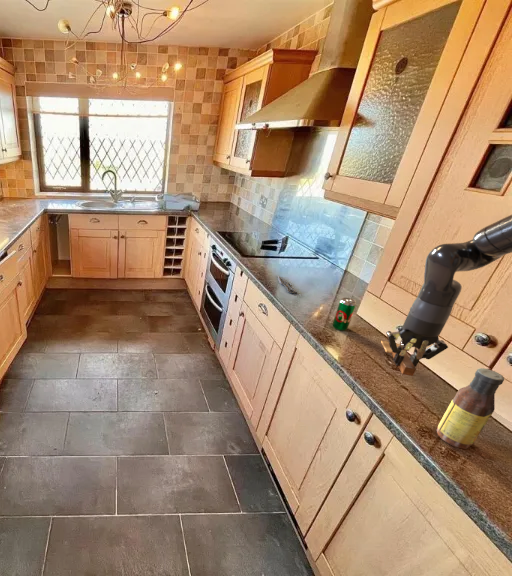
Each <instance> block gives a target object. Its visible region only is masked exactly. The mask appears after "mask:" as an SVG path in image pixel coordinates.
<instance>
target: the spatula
mask: <svg viewBox="0 0 512 576" xmlns="http://www.w3.org/2000/svg"><path fill="white" fill-rule="evenodd" d="M380 343H381V345H382V348H384V351H385V353H388V354H391V355H392V357H393V358H394V356H395V354H396V353H394V352H393V351H392V349H391V348H390V345H389V341H387V340H381V341H380ZM399 345H400V343H398V342H396V346H397V347H399ZM397 367H398V369H399V370H400V372H401V374H402V375H406V376H409V377H413V376H414V374H415V373H416V371H417V368H416V367H415V366H414V365H413V363H412V362H411V360H410V356H409V354H408V352H406V354H405V355H404V359H403V361H402V362H401V364H400V366H397Z"/></svg>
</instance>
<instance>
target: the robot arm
mask: <svg viewBox="0 0 512 576" xmlns="http://www.w3.org/2000/svg"><path fill="white" fill-rule="evenodd" d="M511 253H512V214H510V215H508V216H505V217H503V218H501V219H499V220H497V221H495V222H493V223H491V224H489V225H486V226H484V227H483V228H481V229H480V230H478V231H477V232H475V234H474V235H473V238H472V239H471V240H467V241H465V242H453V243H451V242H450V243H441V244H439V245H437V246H435V247H434V248H432V249H431V250H430V251H429V253H428V254H427V257H426V259H425V265H424V274H423V284H422V286H421V288H420V290H419V292H418V294H417V295H416V296H417V297H416V298H415V300H414V301H413V302H412V305H411V306H410V308H409V311H408V313H407V315H406V317H405V320H404V322H403V325H402V327H401V328H400V329H398V331H393V332H392V331H390V330H388V331H386V332H385V333H386V337H387V340H388V341H387V342H389V345H390V348H391V349H392V351H393V352H394V353H396V354H395V356H394V357H393V359H392V360H393V363H394V365H395V366H396V367H398V366H400V364H401V362H402V361H403V359H404V355H405V354H406V353H408V352H409V351H410V350H411V349H412V348H414V349H413V351H412V352H413V354H410V356H409V358H410V360H411V362H412V363H413V365H414V366H415V368H416V367H417V366H418V364H419V362H420V360H422V359H426V360H431V359H433V358H434V357H436V356H437V355H439V354H441V353H442V352H444V351H446V350H447V349H448V348H449V345H448V344H447V343H446V342H445V341H444V340H443V339H440V338H439V336H440V335H441V333H442V331H443V329H444V327H445V325H446V324H447V322H448V320H449V318H450V316H451V314H452V311H453V307H454V305H455V304H456V302H457V299H458V298H459V296H460V294H461V292H462V289H463V288H462V284H461V282H459V281H457V280H455V279H454V277H455V274H456V273H458V272H460V273H461V272H470V271H475V270H479V269H481V268H483V267H486V266H488V265H490V264H492V263H494V262H495V261H497V260H499V259H501V258H502V257H503V256H505V255H509V254H511ZM399 337H400V339H401V340H400V342H399V344H400V345H399V347H397V346H396V343H397V342H396V341H397V340H398V339H399Z"/></svg>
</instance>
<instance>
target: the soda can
mask: <svg viewBox="0 0 512 576" xmlns="http://www.w3.org/2000/svg"><path fill="white" fill-rule="evenodd" d="M356 302H357V301H356V300H355V299H354V298H351V297H342V298H341V299H339V302H338V305H337V308H336V312H335V315H334V318H333V320H332V327H333V328H334V329H335V330H337V331H340V332H342V331H347V330H348V329H349V326H350V324H351V321H352V318H353V315H354V312H355V309H356V306H357V303H356Z"/></svg>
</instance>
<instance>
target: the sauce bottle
mask: <svg viewBox="0 0 512 576" xmlns="http://www.w3.org/2000/svg"><path fill="white" fill-rule="evenodd" d="M504 381H505V377H504V376H503V375H502V374H501V373H499V372H497V371H495V370H491V369H489V368H483V367H479V368H477V369H476V371H475V373H474V377H473V378H472V381H471V382H470V383H469V384H468V385H466V386H463V387H460V388H458V391H457V392H456V393H455V395H454V397H453V398H452V400H451V401H450V403H449V405H448V406H447V408H446V411H445V412H444V414H443V416H442V418H441V419H440V421H439V423H438V425H437V427H436V433H437V436H438V437H439V438H440V439H441V440H443V441H444V442H445V443H446V444H448V445H451V446H452V447H456V448H459V449H464V450H465V449H469V448H470V447H471V446H472V445H473V444H475V442H476V440H477V439H478V437H479V436H480V435H481V433H482V431H483V429H484V427H485V426H486V425H487V423H488V422H489V420H490V418H491V417H492V415H493V414H494V412H495V407H496V406H495V404H496V403H495V394H496V393H497V390H498V388H499V387H500V386H501V385H503V383H504Z"/></svg>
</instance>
